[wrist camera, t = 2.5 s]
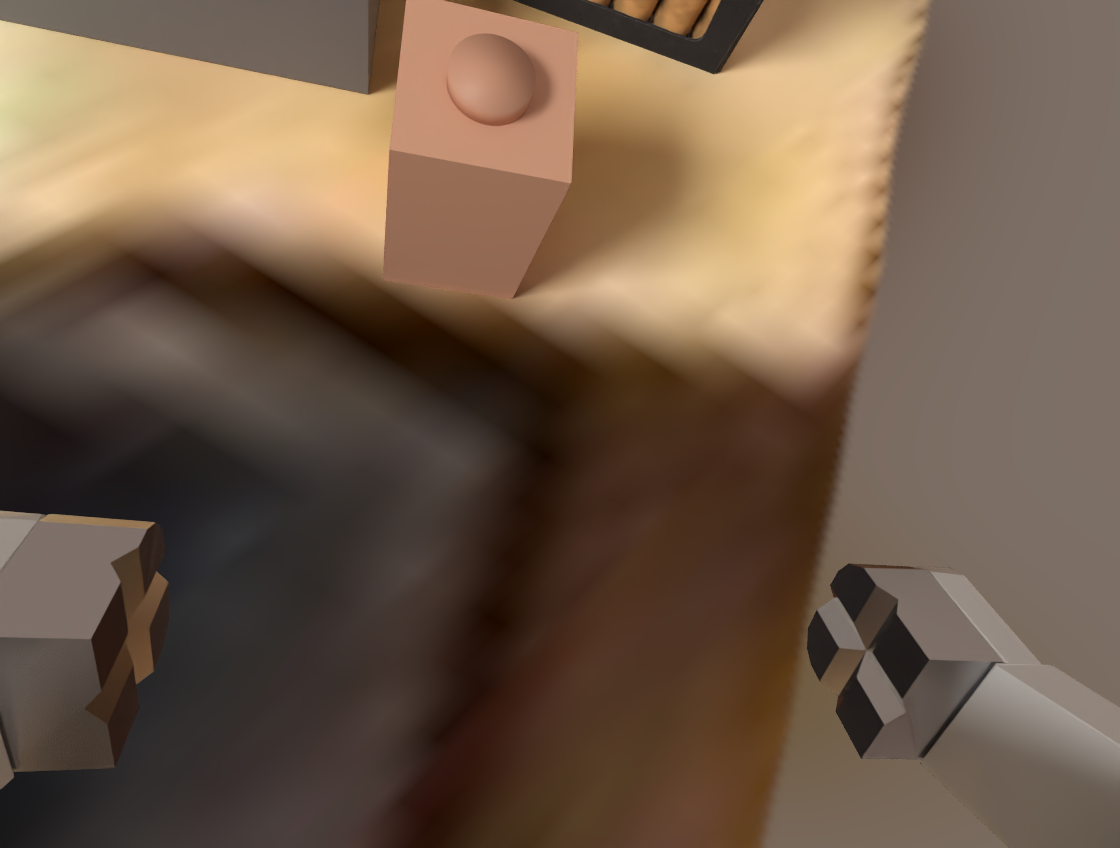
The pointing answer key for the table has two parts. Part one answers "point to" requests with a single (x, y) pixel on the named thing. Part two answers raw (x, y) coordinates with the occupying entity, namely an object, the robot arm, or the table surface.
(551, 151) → the block
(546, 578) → the table surface
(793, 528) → the table surface
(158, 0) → the base block
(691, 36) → the ammunition clip
